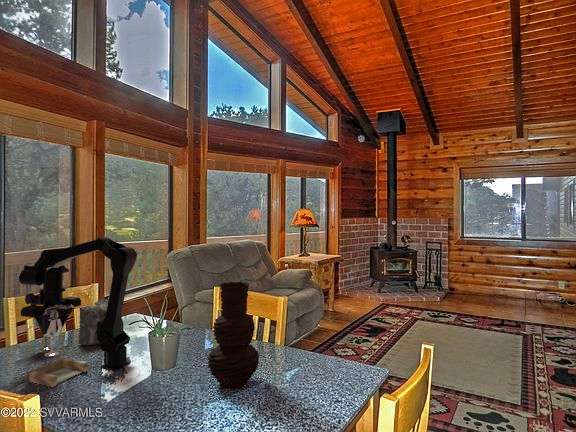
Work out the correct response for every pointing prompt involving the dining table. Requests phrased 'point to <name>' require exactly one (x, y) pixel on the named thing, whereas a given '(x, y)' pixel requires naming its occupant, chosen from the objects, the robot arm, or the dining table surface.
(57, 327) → the wineglass
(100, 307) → the rock
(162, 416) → the dining table surface
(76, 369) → the u rest
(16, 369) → the dining table surface
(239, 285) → the vase
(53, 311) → the wine glass
